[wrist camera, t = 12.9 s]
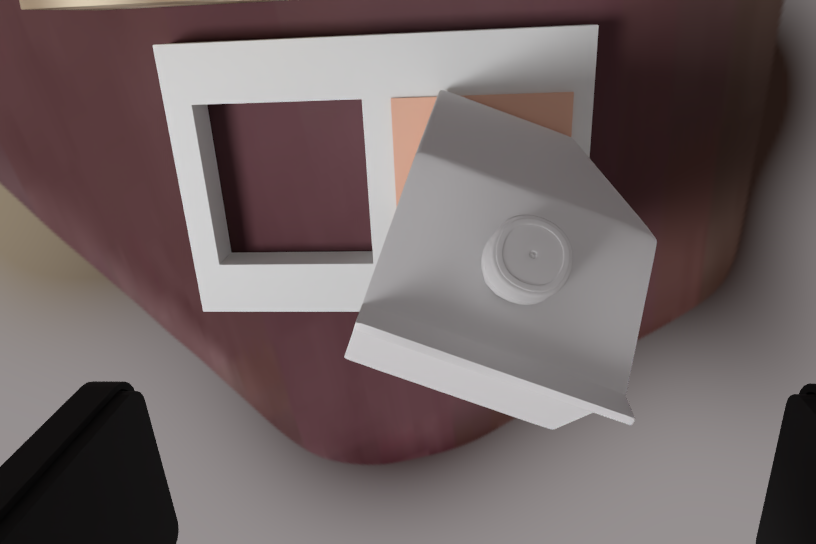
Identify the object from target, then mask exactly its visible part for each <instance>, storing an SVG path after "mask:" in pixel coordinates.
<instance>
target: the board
mask: <svg viewBox="0 0 816 544" xmlns="http://www.w3.org/2000/svg"><path fill="white" fill-rule="evenodd" d="M598 28H599V25H594V24H586V25H564V26H542V27H520V28H498V29H476V30H453V31H431V32H409V33H387V34H365V35H343V36H321V37H299V38H277V39H255V40H233V41H211V42H189V43H168V44H158V45H153V50H154V55H155V61H156V66H157V71H158V76H159V82H160V87H161V92H162V97H163V103H164V108H165V113H166V118H167V124H168V129H169V134H170V139H171V145H172V150H173V155H174V160H175V166H176V171H177V176H178V181H179V187H180V192H181V197H182V202H183V208H184V213H185V218H186V223H187V229H188V234H189V239H190V244H191V250H192V255H193V260H194V265H195V271H196V276H197V281H198V286H199V292H200V297H201V302H202V307H203V312H360V309H361V306H362V304H363V301H364V298H365V295H366V292H367V289H368V287H369V284H370V281H371V278H372V275H373V273H374V270H375V267H376V264H377V261H378V258H379V256H380V253H381V250H382V247H383V244H384V242H385V239H386V236H387V233H388V230H389V227H390V225H391V222H392V219H393V216H394V213H395V211H396V208H397V205H398V202H399V199H400V197H401V194H402V191H403V188H404V185H405V182H406V180H407V177H408V174H409V171H410V168H411V166H412V163H413V160H414V157H415V154H416V152H417V149H418V146H419V144H420V141H421V138H422V136H423V133H424V130H425V128H426V125H427V122H428V120H429V117H430V114H431V112H432V109H433V107H434V104H435V101H436V99H437V96H438V93H439V91H440V90H444V91H448V92H451V93H454V94H456V95H459V96H462V97H465V98H467V99H470V100H473V101H475V102H478V103H481V104H484V105H486V106H489V107H492V108H494V109H497V110H500V111H502V112H505V113H508V114H511V115H513V116H516V117H519V118H521V119H524V120H527V121H530V122H532V123H535V124H538V125H540V126H543V127H546V128H549V129H551V130H554V131H557V132H559V133H562V134H564V135H567V136H569V137H571V138H573V139H574V140H575V142H576V143H577V144H578V145H579V146H580V148H581V149H582V150H583V151H584V152H585V153H586V155H587V156H588V157H589V158H590V144H591V130H592V115H593V101H594V86H595V72H596V57H597V43H598ZM349 99H362V109H363V123H364V137H365V151H366V166H367V180H368V194H369V208H370V222H371V236H372V250H373V251H341V252H237V253H232V252H231V246H230V240H229V234H228V228H227V222H226V216H225V209H224V203H223V197H222V191H221V185H220V179H219V173H218V167H217V161H216V155H215V149H214V143H213V136H212V130H211V124H210V118H209V112H208V106H207V104H234V103H262V102H291V101H320V100H349Z"/></svg>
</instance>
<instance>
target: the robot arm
mask: <svg viewBox="0 0 816 544" xmlns="http://www.w3.org/2000/svg"><path fill="white" fill-rule="evenodd" d="M177 538H178V521H177V517H176V514H175V510H174V506H173V502H172V499H171V495H170V492H169V488H168V484H167V480H166V477H165V473H164V469H163V466H162V462H161V458H160V454H159V451H158V447H157V444H156V440H155V436H154V432H153V429H152V425H151V421H150V417H149V414H148V410H147V406H146V403H145V400H144V397H143V395H142V394H141V393H140V392H138V391H134V388H133V387H132V386H131V385H130V384H129V383H127V382H88V383H86V384H84V385H83V386H82V387H81V388H80V389H79V390H78V391H77V392H76V393H75V394H74V395H73V396H72V397H70V399H68V401H66V402H65V403H64V404H63V405H62V406H61V407H60V408H59V409H58V410H57V411H56V412H55V413H54V414H53V415H52V416H51V417H50V418H49V419H48V420H47V421H46V422H45V423H44V424H43V425H42V426H41V427H40V428H39V429H38V430H37V431H36V432H35V433H34V434H33V435H32V436H31V437H30V438H29V439H28V440H27V441H26V442H25V443H24V444H23V445H22V446H21V447H20V448H19V449H18V450H17V451H16V452H15V453H14V454H13V455H12V456H11V457H10V458H9V459H8V460H7V461H6V462H5V463H4V464H3V465H2V466H1V467H0V544H176V541H177ZM756 544H816V384H807V385H805V386H804V387H803V388H802V389H801V390H800V393H799V394H794V395H791V396H790V397H789V398H788V400H787V403H786V407H785V411H784V416H783V420H782V425H781V429H780V434H779V439H778V443H777V448H776V452H775V457H774V461H773V466H772V470H771V475H770V480H769V484H768V488H767V493H766V497H765V502H764V506H763V511H762V516H761V520H760V524H759V529H758V533H757V538H756Z"/></svg>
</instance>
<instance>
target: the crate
mask: <svg viewBox="0 0 816 544" xmlns="http://www.w3.org/2000/svg"><path fill="white" fill-rule="evenodd" d="M266 1H286V0H19V2H20V5H21V9H28V10H111V9H130V8H150V7H169V6H189V5H208V4H227V3H247V2H266Z"/></svg>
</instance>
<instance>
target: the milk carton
mask: <svg viewBox="0 0 816 544" xmlns="http://www.w3.org/2000/svg"><path fill="white" fill-rule="evenodd" d="M656 244H657V241H656V238H655V237H654V235H653V234H652V233H651V231H650V230H649V229H648V227H647V226H646V225H645V224H644V222H643V221H642V220H641V219H640V218H639V216H638V215H637V214H636V213H635V212H634V210H633V209H632V208H631V207H630V206H629V204H628V203H627V202H626V201H625V200H624V199H623V197H622V196H621V195H620V194H619V193H618V191H617V190H616V189H615V188H614V187H613V185H612V184H611V183H610V182H609V181H608V180H607V178H606V177H605V176H604V175H603V174H602V172H601V171H600V170H599V169H598V168H597V167H596V165H595V164H594V163H593V162H592V161H591V159H590V158H589V157H588V156H587V155H586V153H585V152H584V151H583V150H582V149H581V148H580V146H579V145H578V144H577V143H576V142H575V140H574V139H573V138H571V137H569V136H567V135H564V134H562V133H559V132H557V131H554V130H551V129H549V128H546V127H543V126H540V125H538V124H535V123H532V122H530V121H527V120H524V119H521V118H519V117H516V116H513V115H511V114H508V113H505V112H502V111H500V110H497V109H494V108H492V107H489V106H486V105H484V104H481V103H478V102H475V101H473V100H470V99H467V98H465V97H462V96H459V95H456V94H454V93H451V92H448V91H444V90H440V91H439V93H438V96H437V99H436V101H435V104H434V107H433V109H432V112H431V114H430V117H429V120H428V122H427V125H426V128H425V130H424V133H423V136H422V138H421V141H420V144H419V146H418V149H417V152H416V154H415V157H414V160H413V163H412V166H411V168H410V171H409V174H408V177H407V180H406V182H405V185H404V188H403V191H402V194H401V197H400V199H399V202H398V205H397V208H396V211H395V213H394V216H393V219H392V222H391V225H390V227H389V230H388V233H387V236H386V239H385V242H384V244H383V247H382V250H381V253H380V256H379V258H378V261H377V264H376V267H375V270H374V273H373V275H372V278H371V281H370V284H369V287H368V289H367V292H366V295H365V298H364V301H363V304H362V306H361V309H360V312H359V314H358V317H357V320H356V323H355V326H354V330H353V333H352V336H351V339H350V342H349V345H348V348H347V351H346V354H345V357H344V358H346V359H348V360H351V361H354V362H357V363H359V364H362V365H365V366H368V367H371V368H374V369H377V370H379V371H382V372H385V373H388V374H391V375H394V376H397V377H400V378H403V379H406V380H408V381H411V382H414V383H417V384H420V385H423V386H426V387H429V388H432V389H435V390H437V391H440V392H443V393H446V394H449V395H452V396H455V397H458V398H461V399H464V400H467V401H469V402H472V403H475V404H478V405H481V406H484V407H487V408H490V409H493V410H496V411H498V412H501V413H504V414H507V415H510V416H513V417H516V418H519V419H522V420H525V421H528V422H530V423H533V424H536V425H540V426H543V427H545V428H549V429H556V428H558V427H561V426H563V425H565V424H568V423H570V422H572V421H574V420H577V419H579V418H581V417H584V416H586V415H588V414H591V413H593V412H594V413H596V414H599V415H602V416H605V417H608V418H611V419H614V420H617V421H620V422H622V423H625V424H628V425H632V424H633V422H634V421H635V417H634V415H633V412H632V410H631V407H630V405H629V403H628V400H627V398H626V392H627V387H628V382H629V377H630V372H631V367H632V362H633V358H634V353H635V348H636V343H637V338H638V333H639V328H640V323H641V318H642V314H643V309H644V304H645V299H646V294H647V289H648V284H649V279H650V274H651V270H652V265H653V260H654V255H655V250H656Z"/></svg>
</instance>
